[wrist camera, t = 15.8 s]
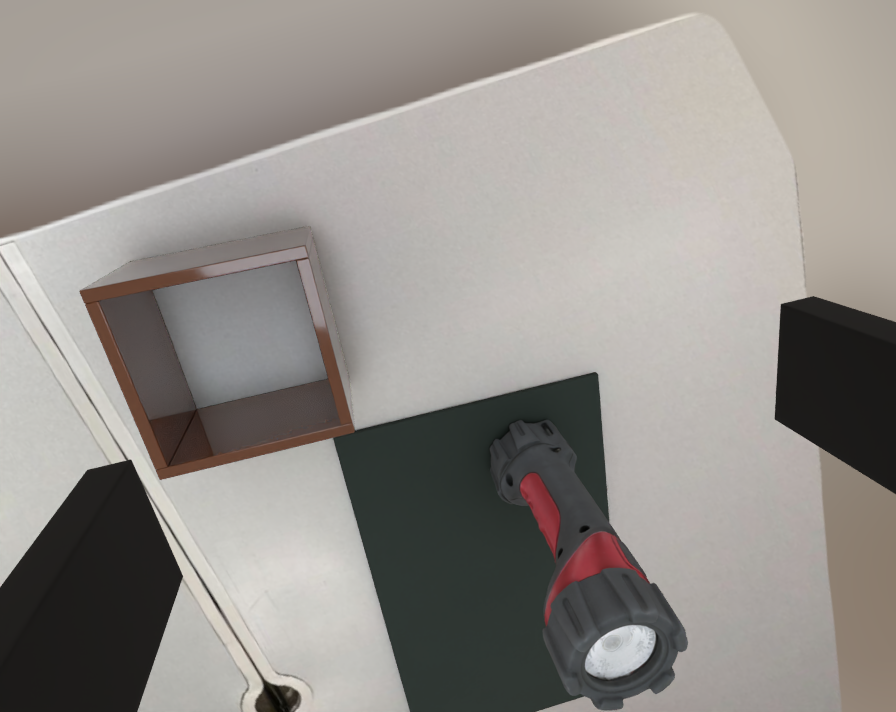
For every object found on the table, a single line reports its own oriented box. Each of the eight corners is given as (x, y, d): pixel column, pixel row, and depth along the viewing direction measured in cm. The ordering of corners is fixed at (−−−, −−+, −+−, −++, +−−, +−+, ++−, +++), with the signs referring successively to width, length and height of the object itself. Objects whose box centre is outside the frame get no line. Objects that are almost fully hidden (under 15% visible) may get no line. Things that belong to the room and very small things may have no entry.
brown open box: (310, 225, 43) (305, 245, 34) (350, 382, 47) (355, 432, 39) (129, 261, 41) (78, 291, 33) (190, 419, 46) (159, 480, 38)
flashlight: (465, 492, 53) (554, 723, 32) (476, 416, 50) (581, 612, 29) (543, 491, 55) (678, 710, 33) (558, 417, 52) (713, 604, 31)
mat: (595, 372, 52) (598, 374, 51) (619, 681, 67) (621, 684, 66) (333, 435, 49) (333, 438, 48) (419, 743, 64) (420, 748, 63)
